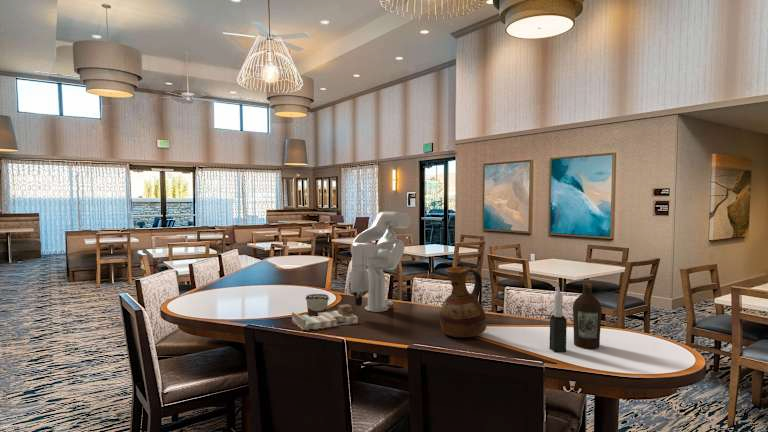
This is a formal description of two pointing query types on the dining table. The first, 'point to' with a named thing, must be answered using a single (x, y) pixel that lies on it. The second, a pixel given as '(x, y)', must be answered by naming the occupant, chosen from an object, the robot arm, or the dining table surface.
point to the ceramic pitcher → (462, 306)
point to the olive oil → (587, 319)
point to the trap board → (323, 320)
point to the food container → (317, 303)
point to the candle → (558, 325)
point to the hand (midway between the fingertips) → (358, 305)
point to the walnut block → (344, 309)
